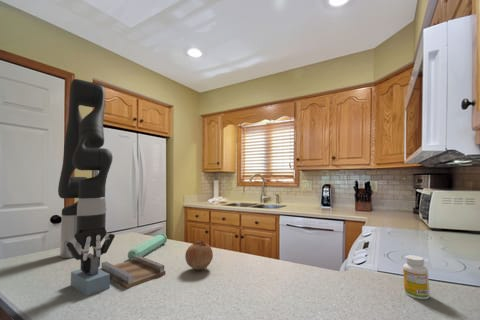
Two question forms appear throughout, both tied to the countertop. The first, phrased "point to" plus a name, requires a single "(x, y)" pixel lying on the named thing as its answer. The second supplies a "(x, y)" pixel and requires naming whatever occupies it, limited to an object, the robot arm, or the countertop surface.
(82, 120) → the robot arm
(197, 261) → the onion
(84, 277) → the blue block with handle
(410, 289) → the supplement bottle
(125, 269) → the tray
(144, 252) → the mint green cylinder
